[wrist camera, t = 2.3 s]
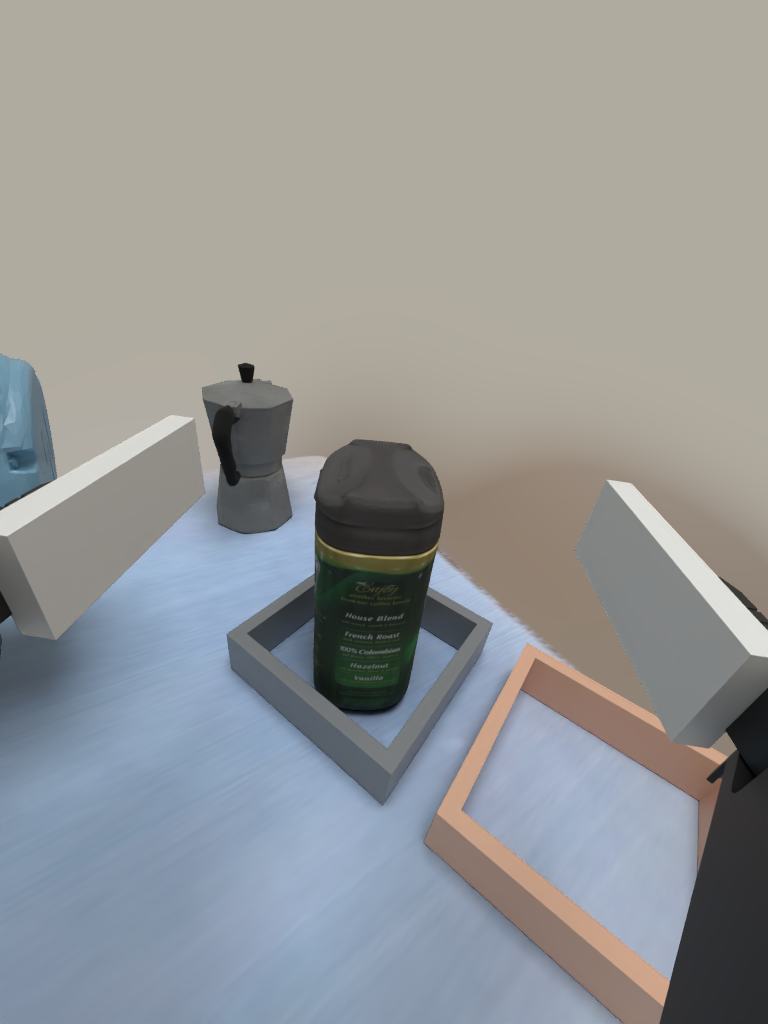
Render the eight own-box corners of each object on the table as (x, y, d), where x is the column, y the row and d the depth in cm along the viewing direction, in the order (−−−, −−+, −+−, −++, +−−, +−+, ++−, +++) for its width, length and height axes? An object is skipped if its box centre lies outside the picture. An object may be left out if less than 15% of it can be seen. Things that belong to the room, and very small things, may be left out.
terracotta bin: (423, 842, 24) (436, 813, 22) (512, 673, 35) (527, 642, 32) (720, 1110, 17) (781, 1106, 15) (715, 798, 28) (750, 770, 26)
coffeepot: (234, 483, 55) (222, 344, 46) (302, 491, 56) (305, 355, 46) (185, 553, 42) (154, 380, 33) (275, 562, 43) (270, 395, 33)
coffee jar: (414, 717, 30) (464, 507, 20) (307, 714, 29) (303, 497, 19) (405, 618, 38) (437, 434, 28) (321, 614, 37) (323, 425, 27)
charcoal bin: (231, 668, 32) (226, 634, 30) (352, 575, 42) (355, 545, 40) (383, 805, 25) (391, 774, 23) (480, 654, 36) (492, 623, 34)
